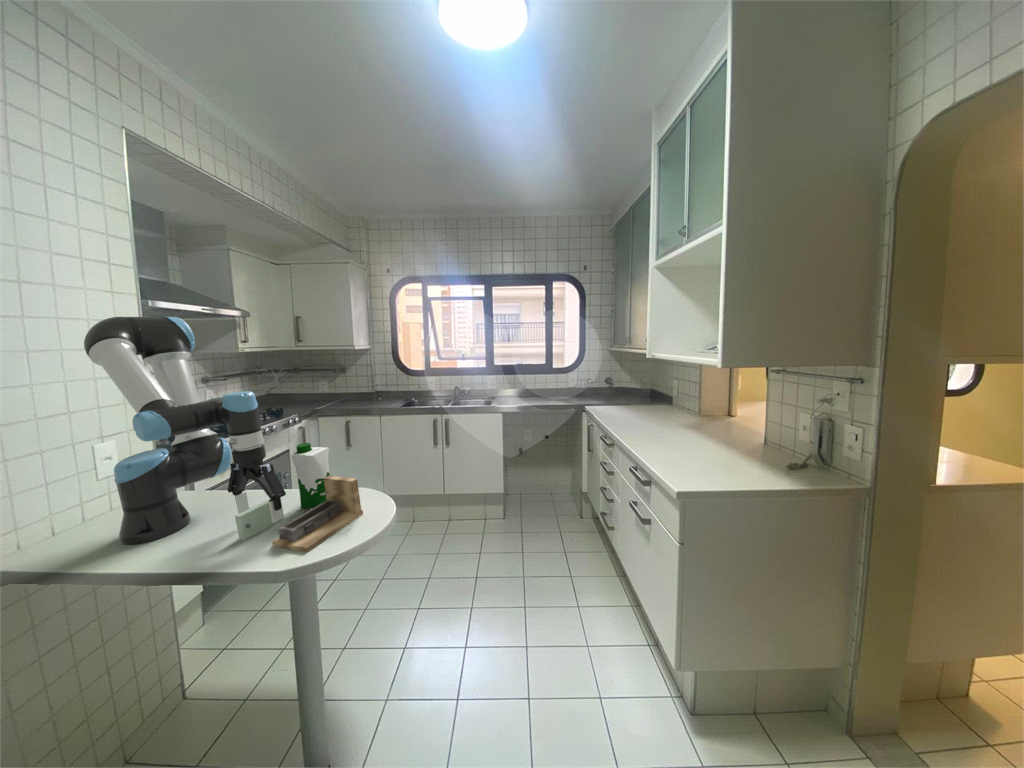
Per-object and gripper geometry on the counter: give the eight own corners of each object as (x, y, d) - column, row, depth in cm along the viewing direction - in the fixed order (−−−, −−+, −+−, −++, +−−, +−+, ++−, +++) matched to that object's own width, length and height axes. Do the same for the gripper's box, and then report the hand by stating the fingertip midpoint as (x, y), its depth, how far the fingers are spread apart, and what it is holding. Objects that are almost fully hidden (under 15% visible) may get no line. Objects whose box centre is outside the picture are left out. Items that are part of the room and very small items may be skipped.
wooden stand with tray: (273, 545, 98) (266, 506, 96) (332, 509, 117) (327, 475, 115) (307, 552, 94) (300, 511, 92) (363, 513, 112) (358, 478, 111)
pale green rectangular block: (239, 539, 102) (234, 515, 101) (279, 517, 114) (275, 496, 112) (246, 540, 102) (241, 516, 100) (285, 518, 113) (282, 497, 112)
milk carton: (315, 497, 126) (307, 440, 123) (339, 497, 124) (331, 440, 121) (296, 509, 118) (286, 449, 115) (321, 510, 116) (311, 449, 113)
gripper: (204, 448, 105) (218, 518, 108) (267, 454, 96) (280, 529, 99) (231, 440, 112) (244, 506, 115) (292, 444, 103) (304, 516, 106)
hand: (260, 517), depth 107 cm, fingers open, 13 cm apart
